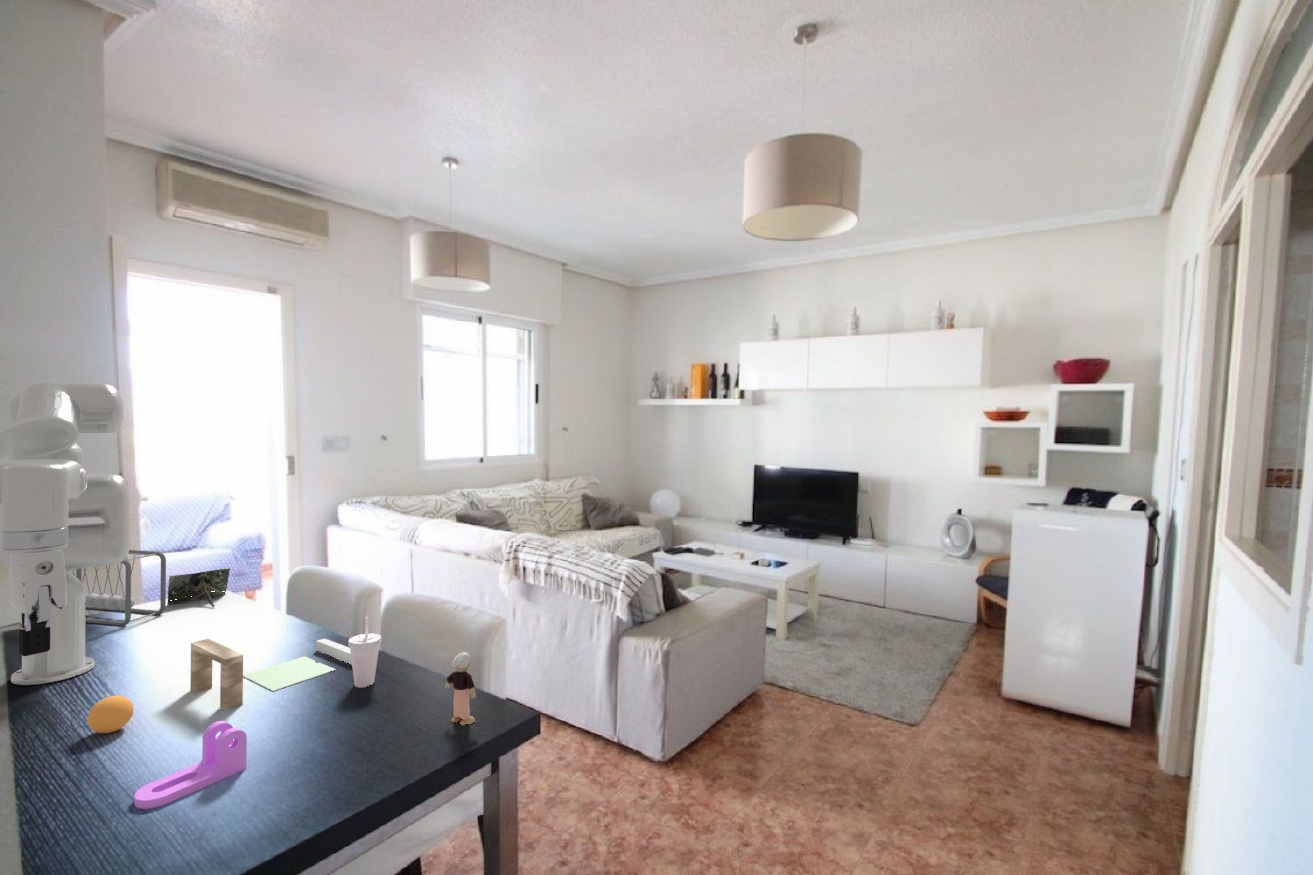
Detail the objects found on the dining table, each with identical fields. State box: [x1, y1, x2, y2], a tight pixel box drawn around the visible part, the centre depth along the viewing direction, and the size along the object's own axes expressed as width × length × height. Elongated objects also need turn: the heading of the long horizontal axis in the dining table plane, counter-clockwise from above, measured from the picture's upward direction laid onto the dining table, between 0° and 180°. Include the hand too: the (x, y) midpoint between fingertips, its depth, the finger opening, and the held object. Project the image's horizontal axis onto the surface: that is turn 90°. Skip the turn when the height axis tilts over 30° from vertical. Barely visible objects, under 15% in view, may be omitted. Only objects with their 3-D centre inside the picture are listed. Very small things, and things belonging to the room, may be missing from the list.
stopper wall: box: [315, 638, 352, 666], centre depth 139 cm, size 16×2×2 cm, turn 58°
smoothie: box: [347, 616, 382, 689], centre depth 126 cm, size 6×6×14 cm
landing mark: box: [243, 655, 337, 692], centre depth 130 cm, size 13×13×1 cm
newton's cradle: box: [72, 549, 167, 627], centre depth 164 cm, size 30×10×18 cm, turn 80°
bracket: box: [134, 720, 248, 810], centre depth 90 cm, size 13×6×7 cm, turn 150°
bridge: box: [189, 638, 244, 711], centre depth 118 cm, size 3×15×10 cm, turn 58°
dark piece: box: [166, 567, 231, 608], centre depth 176 cm, size 15×10×13 cm
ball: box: [86, 695, 135, 734], centre depth 104 cm, size 6×6×6 cm
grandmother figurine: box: [444, 651, 477, 726], centre depth 111 cm, size 8×4×13 cm, turn 71°
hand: (34, 652), depth 96 cm, fingers closed
